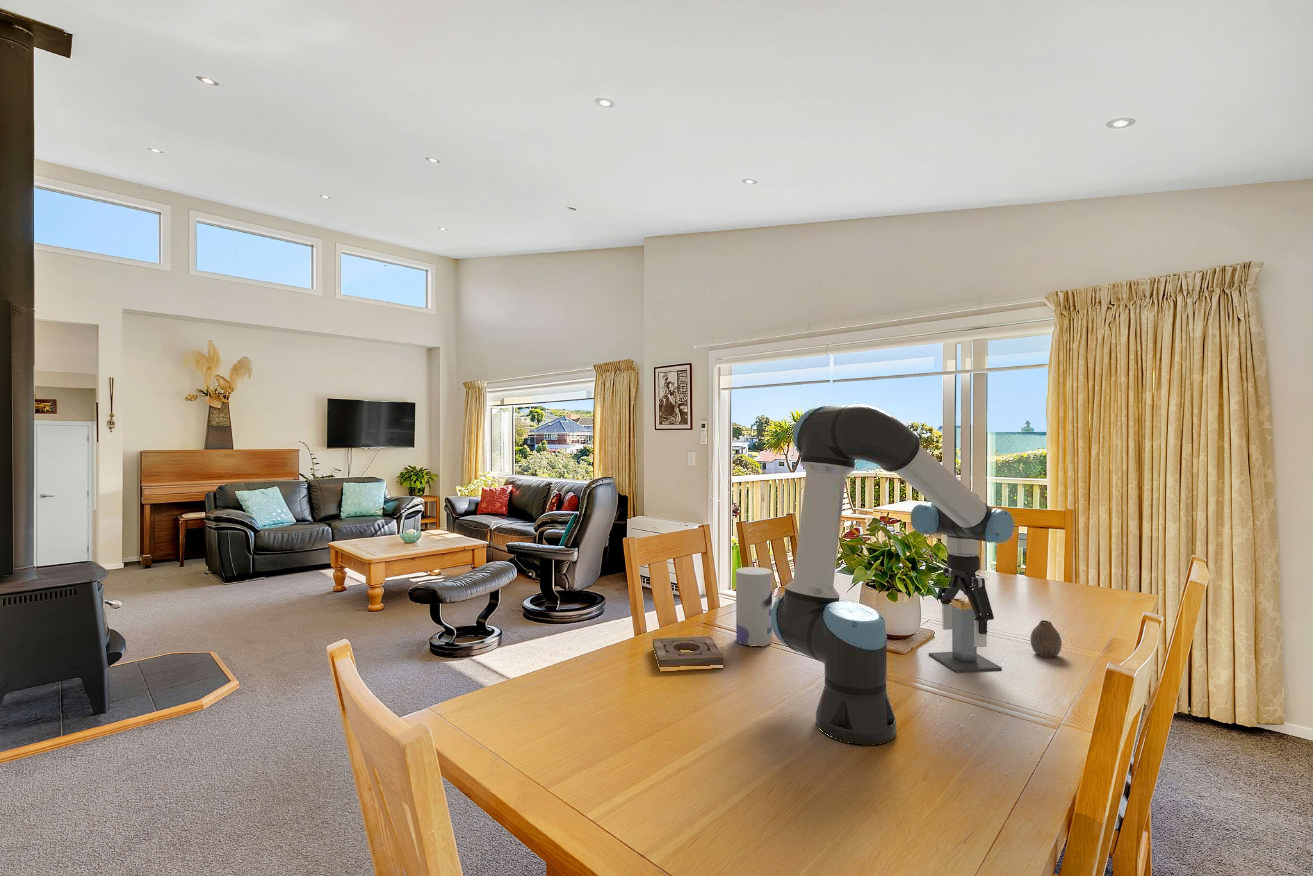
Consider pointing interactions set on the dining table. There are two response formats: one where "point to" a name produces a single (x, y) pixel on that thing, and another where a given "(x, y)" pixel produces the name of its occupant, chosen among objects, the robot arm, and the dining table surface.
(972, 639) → the key peg
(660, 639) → the block
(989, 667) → the pad
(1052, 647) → the vase
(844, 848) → the dining table surface
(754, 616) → the container
